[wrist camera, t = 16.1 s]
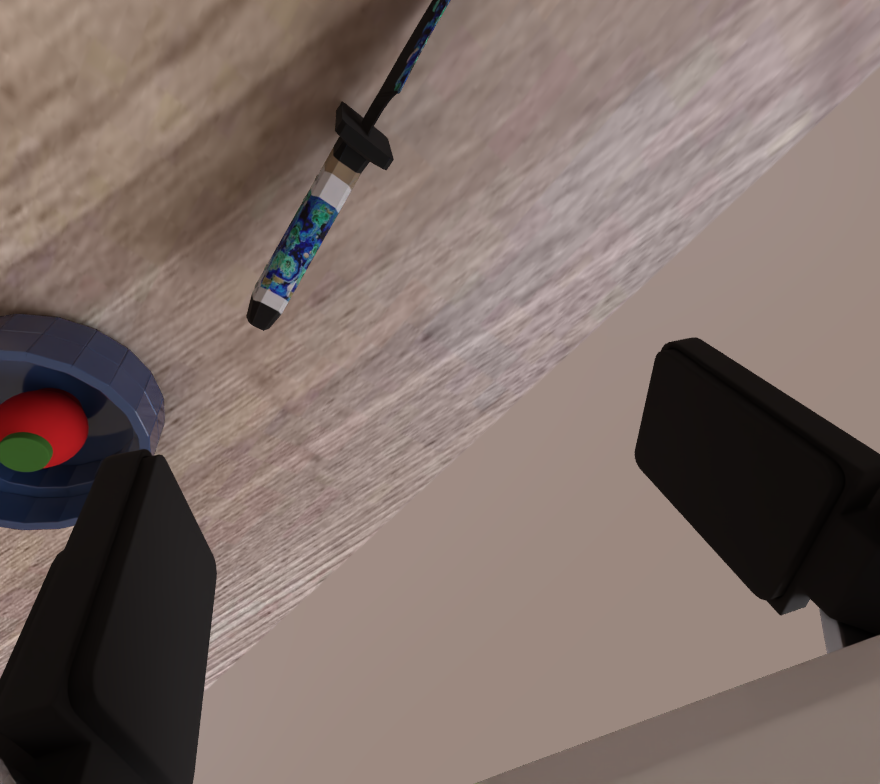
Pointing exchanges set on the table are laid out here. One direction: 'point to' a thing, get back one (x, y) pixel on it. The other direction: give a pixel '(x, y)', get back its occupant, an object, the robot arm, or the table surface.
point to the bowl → (103, 401)
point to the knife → (335, 183)
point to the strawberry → (41, 429)
